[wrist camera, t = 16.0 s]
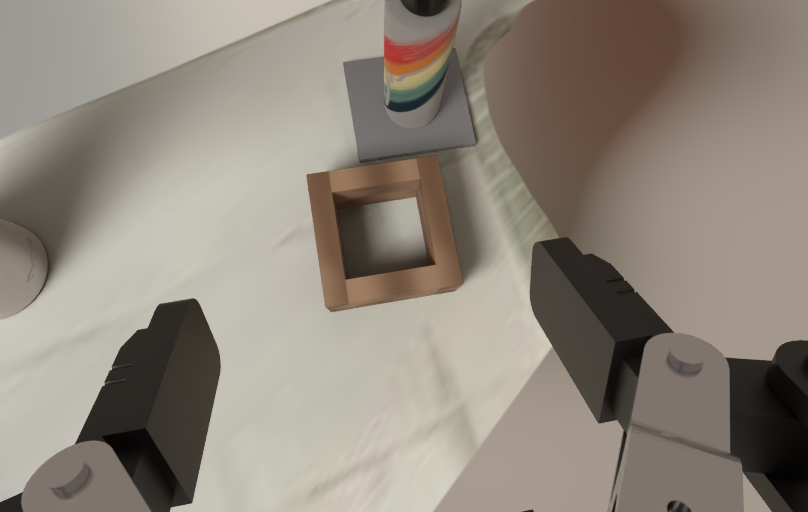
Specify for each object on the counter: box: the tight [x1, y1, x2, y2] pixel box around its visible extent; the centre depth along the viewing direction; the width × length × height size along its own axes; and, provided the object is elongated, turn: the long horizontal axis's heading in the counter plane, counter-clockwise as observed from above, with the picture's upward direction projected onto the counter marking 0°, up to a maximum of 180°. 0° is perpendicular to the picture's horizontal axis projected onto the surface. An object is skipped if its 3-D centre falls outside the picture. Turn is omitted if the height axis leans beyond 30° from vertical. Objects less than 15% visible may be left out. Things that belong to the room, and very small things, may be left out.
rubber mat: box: [343, 48, 476, 162], centre depth 50 cm, size 12×11×1 cm
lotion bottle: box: [384, 0, 461, 128], centre depth 40 cm, size 6×6×20 cm
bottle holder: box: [307, 155, 463, 312], centre depth 45 cm, size 12×12×5 cm
